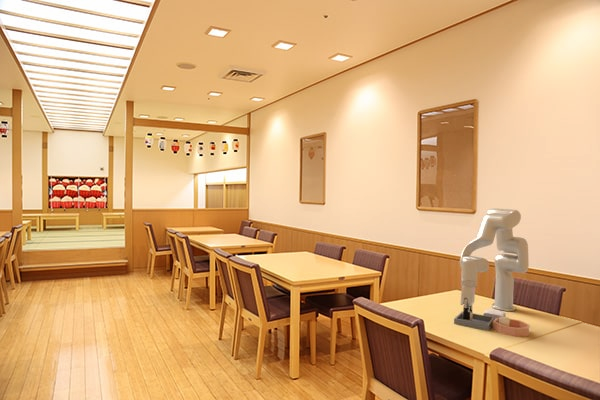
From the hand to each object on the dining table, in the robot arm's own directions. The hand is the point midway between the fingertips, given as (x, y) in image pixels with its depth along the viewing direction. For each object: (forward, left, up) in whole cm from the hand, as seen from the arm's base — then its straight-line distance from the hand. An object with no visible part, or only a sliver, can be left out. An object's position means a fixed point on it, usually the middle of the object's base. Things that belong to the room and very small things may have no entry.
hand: (467, 317), depth 206 cm
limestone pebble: (0, +17, -2) cm, 17 cm away
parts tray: (0, +3, -2) cm, 4 cm away
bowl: (0, +20, -2) cm, 20 cm away
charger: (-15, +11, -3) cm, 19 cm away
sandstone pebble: (0, 0, -2) cm, 2 cm away
